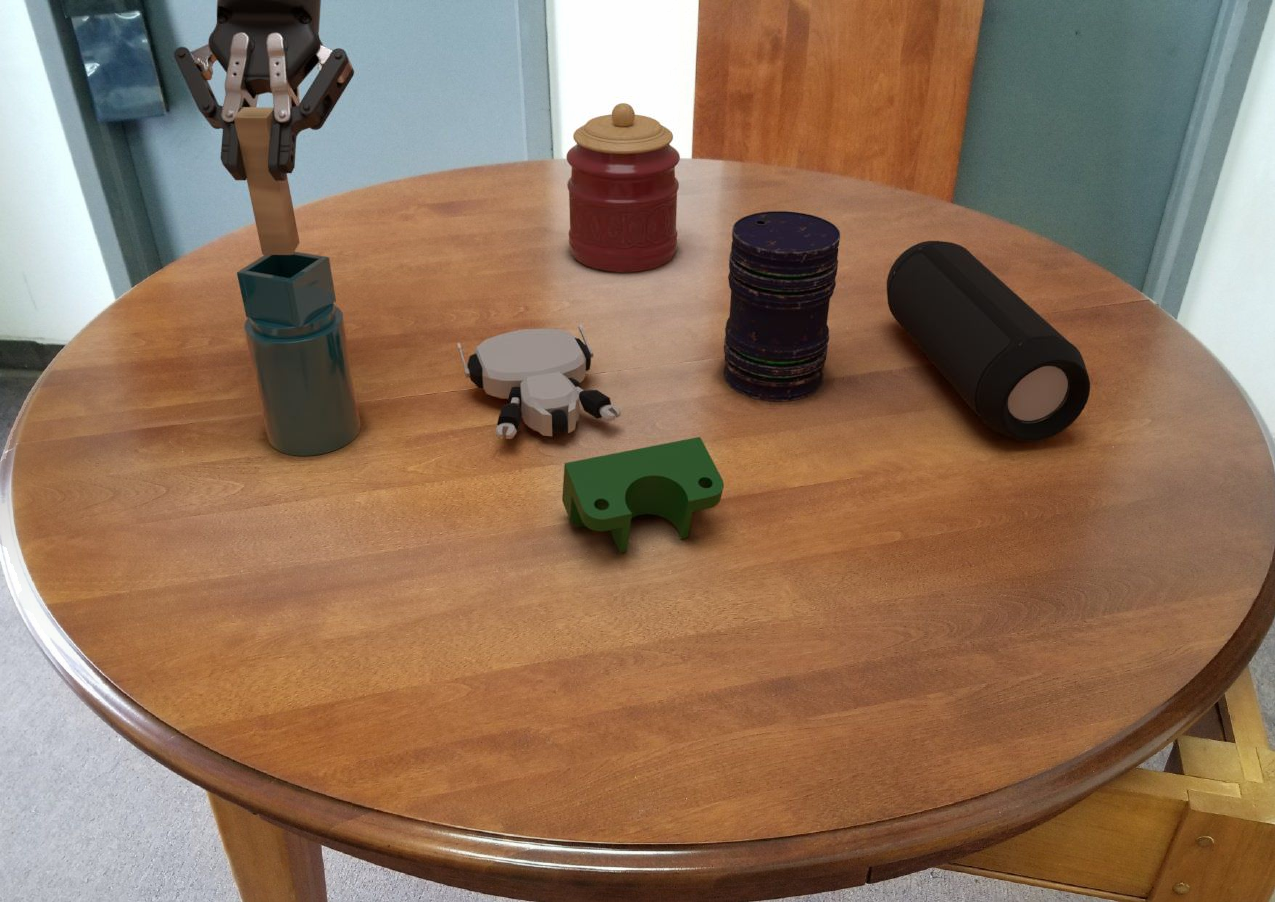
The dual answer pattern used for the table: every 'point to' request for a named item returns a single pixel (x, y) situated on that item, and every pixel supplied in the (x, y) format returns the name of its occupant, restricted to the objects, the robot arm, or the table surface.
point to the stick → (266, 183)
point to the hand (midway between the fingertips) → (257, 175)
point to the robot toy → (537, 380)
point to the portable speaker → (987, 342)
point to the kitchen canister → (623, 192)
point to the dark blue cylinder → (779, 304)
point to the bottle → (299, 353)
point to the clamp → (641, 487)
